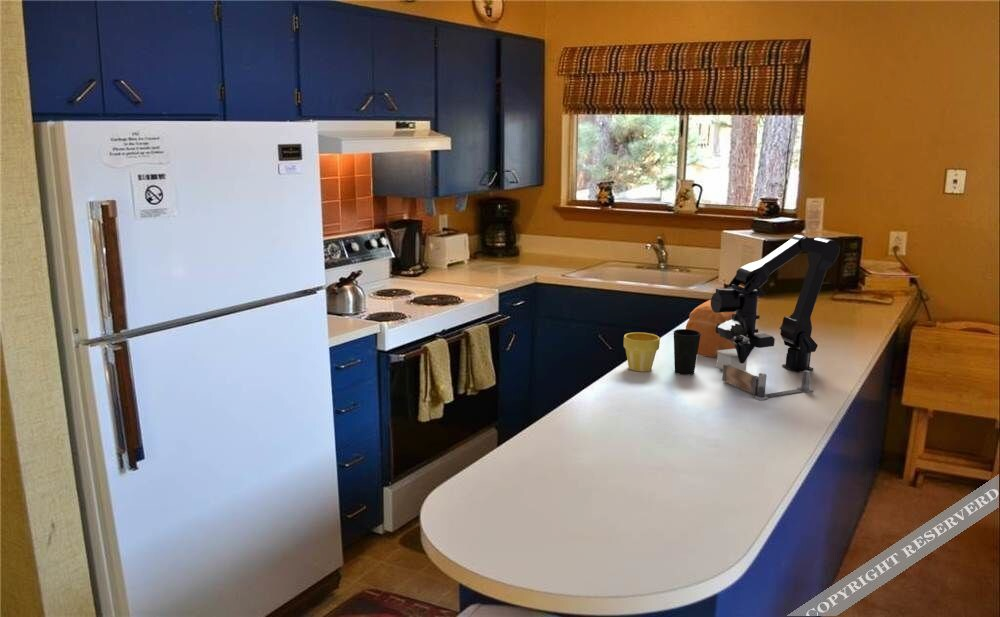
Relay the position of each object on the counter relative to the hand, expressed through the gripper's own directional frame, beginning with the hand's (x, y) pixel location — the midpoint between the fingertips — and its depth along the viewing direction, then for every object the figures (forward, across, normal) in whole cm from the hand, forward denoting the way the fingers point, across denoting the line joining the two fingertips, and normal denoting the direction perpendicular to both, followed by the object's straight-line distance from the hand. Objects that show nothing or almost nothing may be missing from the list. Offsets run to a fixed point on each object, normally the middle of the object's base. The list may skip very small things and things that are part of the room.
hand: (741, 363), depth 238 cm
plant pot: (+3, -15, -25) cm, 29 cm away
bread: (+3, -25, +12) cm, 28 cm away
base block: (+3, -4, 0) cm, 5 cm away
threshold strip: (+3, +19, -2) cm, 19 cm away
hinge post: (+3, +19, -10) cm, 22 cm away
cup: (+3, -7, -15) cm, 17 cm away
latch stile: (+3, +19, +6) cm, 20 cm away
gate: (+3, +11, -10) cm, 15 cm away
